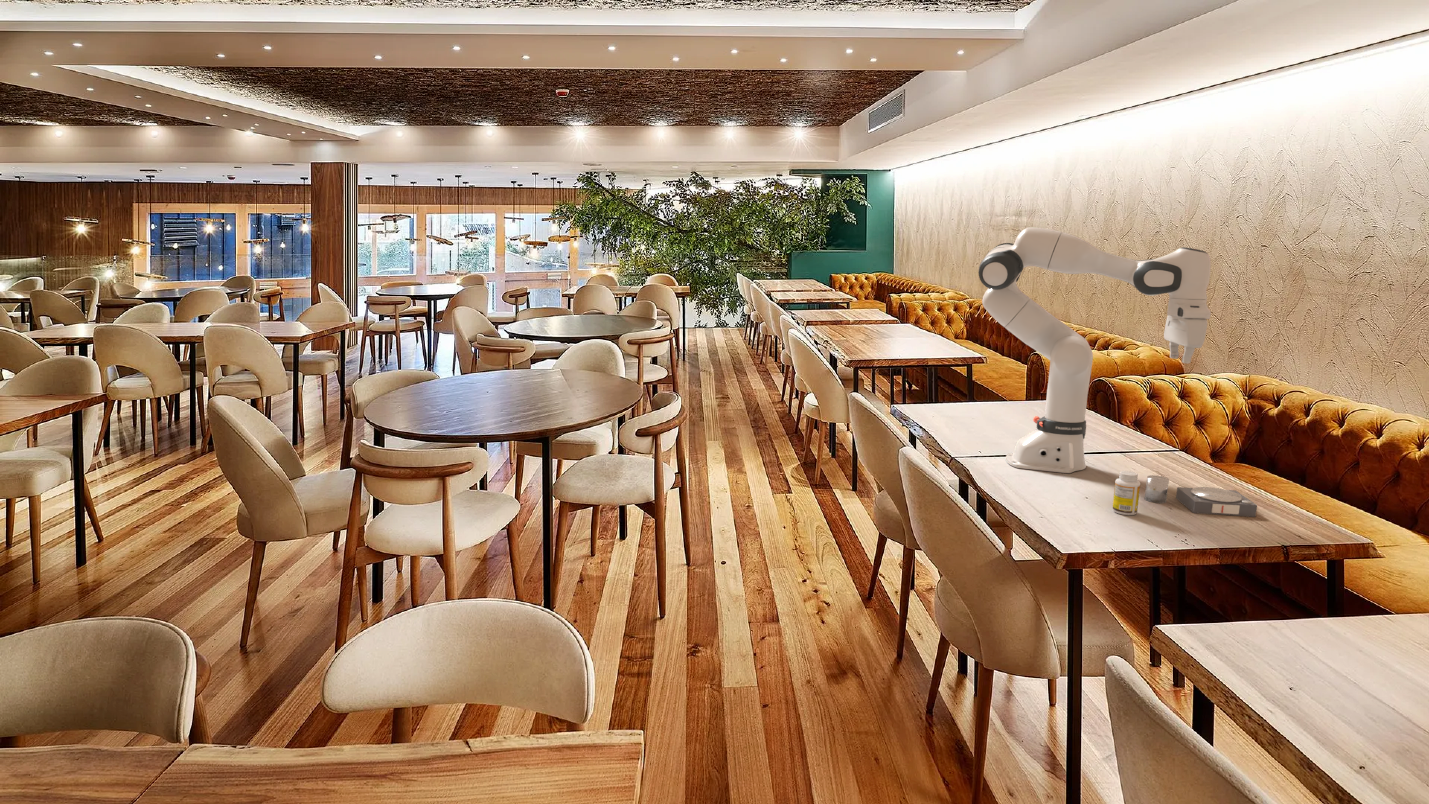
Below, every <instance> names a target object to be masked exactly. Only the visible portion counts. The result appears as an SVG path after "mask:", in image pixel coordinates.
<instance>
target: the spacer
mask: <svg viewBox="0 0 1429 804" xmlns="http://www.w3.org/2000/svg"><path fill="white" fill-rule="evenodd" d="M1169 482H1170V478H1168V477H1165V476H1162V475H1153V474H1151V475H1147V477H1146V484H1145V490H1144V500H1145V501H1147V502H1149V503H1154V504H1166V503H1167V499H1168V492H1169V491H1168V489H1169Z"/></svg>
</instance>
